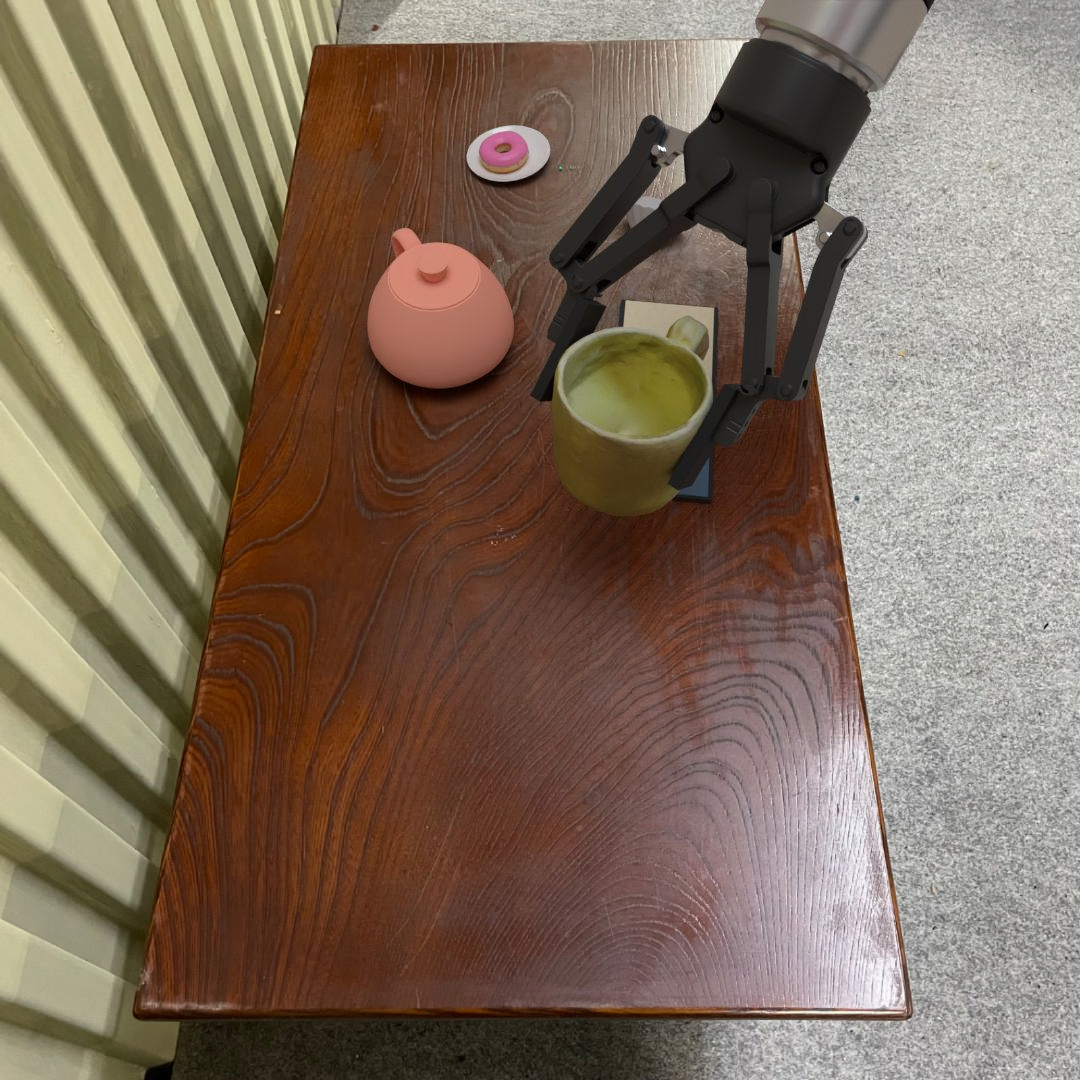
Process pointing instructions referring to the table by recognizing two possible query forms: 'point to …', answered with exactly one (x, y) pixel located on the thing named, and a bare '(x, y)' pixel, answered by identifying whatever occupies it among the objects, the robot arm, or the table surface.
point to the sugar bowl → (438, 315)
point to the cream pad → (668, 319)
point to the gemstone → (642, 209)
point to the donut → (508, 153)
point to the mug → (629, 414)
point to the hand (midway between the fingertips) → (610, 440)
